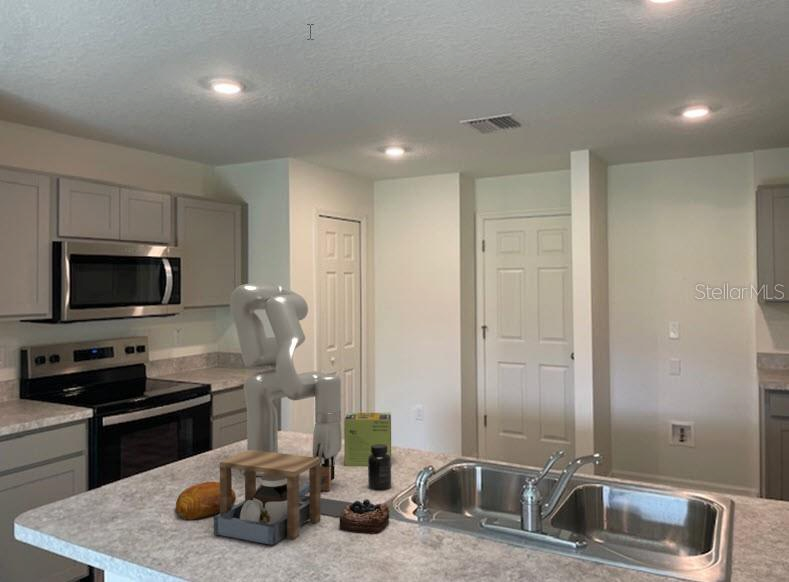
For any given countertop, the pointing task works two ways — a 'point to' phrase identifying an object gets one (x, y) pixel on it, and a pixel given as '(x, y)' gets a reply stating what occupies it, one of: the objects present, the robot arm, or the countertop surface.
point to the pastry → (364, 517)
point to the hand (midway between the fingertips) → (328, 479)
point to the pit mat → (329, 506)
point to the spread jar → (267, 500)
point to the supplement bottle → (379, 468)
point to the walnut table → (279, 466)
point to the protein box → (365, 436)
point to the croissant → (200, 500)
